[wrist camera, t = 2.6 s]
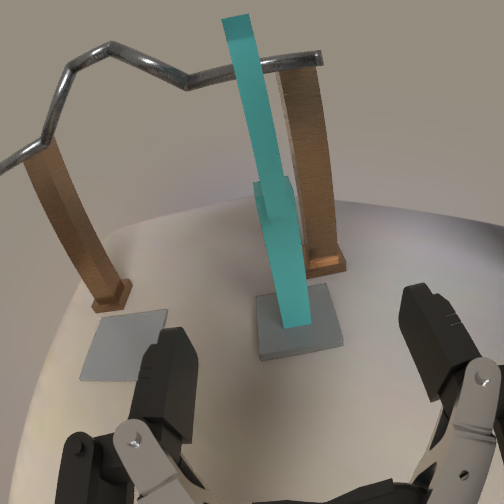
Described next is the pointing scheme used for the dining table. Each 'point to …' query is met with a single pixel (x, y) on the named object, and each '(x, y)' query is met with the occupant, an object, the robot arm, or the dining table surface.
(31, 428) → the dining table surface
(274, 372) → the dining table surface
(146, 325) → the slate pad
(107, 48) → the bent wire rig
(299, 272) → the turquoise post on base
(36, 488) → the dining table surface
